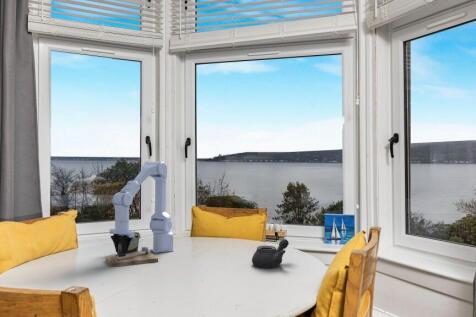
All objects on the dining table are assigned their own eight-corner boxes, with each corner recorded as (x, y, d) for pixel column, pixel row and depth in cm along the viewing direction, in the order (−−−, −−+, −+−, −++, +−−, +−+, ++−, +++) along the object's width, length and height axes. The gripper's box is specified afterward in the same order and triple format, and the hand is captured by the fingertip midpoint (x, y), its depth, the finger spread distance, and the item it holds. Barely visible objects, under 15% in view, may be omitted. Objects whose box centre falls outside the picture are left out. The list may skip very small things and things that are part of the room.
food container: (144, 252, 184) (144, 231, 184) (139, 255, 178) (140, 234, 178) (119, 251, 185) (119, 231, 185) (114, 254, 179) (114, 233, 179)
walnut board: (150, 255, 178) (151, 252, 178) (158, 261, 167) (158, 258, 167) (105, 260, 169) (105, 257, 169) (110, 267, 158) (110, 263, 158)
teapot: (276, 272, 153) (276, 247, 153) (245, 265, 162) (246, 241, 163) (300, 263, 167) (300, 240, 167) (270, 257, 177) (271, 235, 177)
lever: (145, 251, 178) (145, 237, 178) (150, 252, 176) (150, 237, 176) (115, 258, 164) (115, 242, 164) (120, 260, 162) (120, 243, 162)
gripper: (103, 220, 166) (103, 251, 166) (124, 223, 158) (124, 256, 158) (117, 218, 172) (117, 248, 172) (138, 221, 164) (138, 253, 163)
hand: (121, 252), depth 165 cm, fingers open, 4 cm apart
